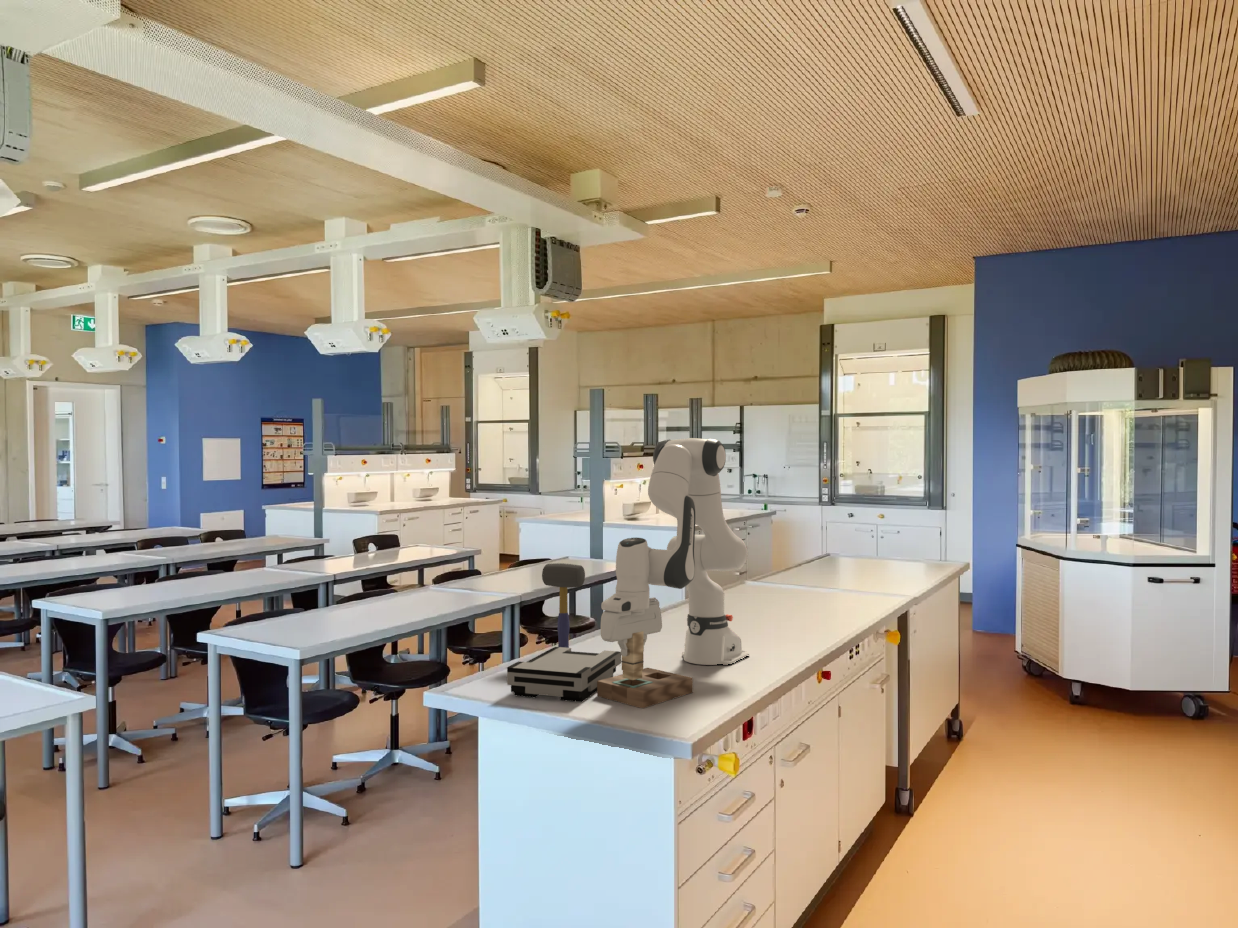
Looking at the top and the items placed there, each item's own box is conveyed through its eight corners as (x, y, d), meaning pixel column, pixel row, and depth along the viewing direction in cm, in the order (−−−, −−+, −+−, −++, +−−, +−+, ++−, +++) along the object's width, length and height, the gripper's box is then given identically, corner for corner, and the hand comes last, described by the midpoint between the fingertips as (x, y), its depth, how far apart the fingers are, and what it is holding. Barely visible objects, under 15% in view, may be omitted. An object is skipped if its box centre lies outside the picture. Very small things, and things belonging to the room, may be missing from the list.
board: (647, 681, 233) (647, 666, 233) (692, 692, 222) (692, 676, 222) (597, 696, 219) (597, 680, 219) (642, 708, 208) (642, 691, 208)
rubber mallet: (540, 660, 259) (540, 563, 259) (551, 655, 266) (551, 561, 266) (576, 663, 254) (576, 565, 254) (586, 658, 261) (586, 562, 261)
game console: (621, 675, 241) (621, 647, 241) (581, 705, 211) (581, 673, 211) (554, 670, 248) (554, 642, 248) (507, 698, 218) (507, 667, 218)
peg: (632, 674, 220) (632, 629, 220) (643, 677, 217) (643, 631, 217) (621, 677, 217) (621, 631, 217) (632, 680, 214) (633, 633, 214)
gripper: (649, 595, 227) (649, 646, 227) (596, 603, 212) (596, 658, 212) (667, 597, 222) (667, 649, 222) (614, 606, 207) (614, 662, 207)
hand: (632, 653), depth 217 cm, fingers closed on peg, 4 cm apart
